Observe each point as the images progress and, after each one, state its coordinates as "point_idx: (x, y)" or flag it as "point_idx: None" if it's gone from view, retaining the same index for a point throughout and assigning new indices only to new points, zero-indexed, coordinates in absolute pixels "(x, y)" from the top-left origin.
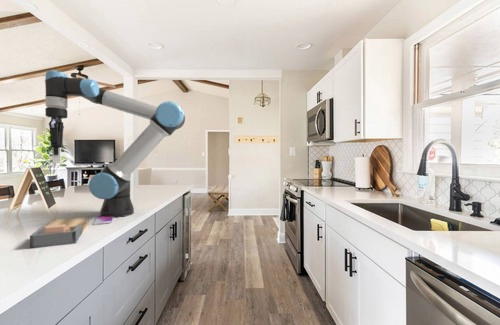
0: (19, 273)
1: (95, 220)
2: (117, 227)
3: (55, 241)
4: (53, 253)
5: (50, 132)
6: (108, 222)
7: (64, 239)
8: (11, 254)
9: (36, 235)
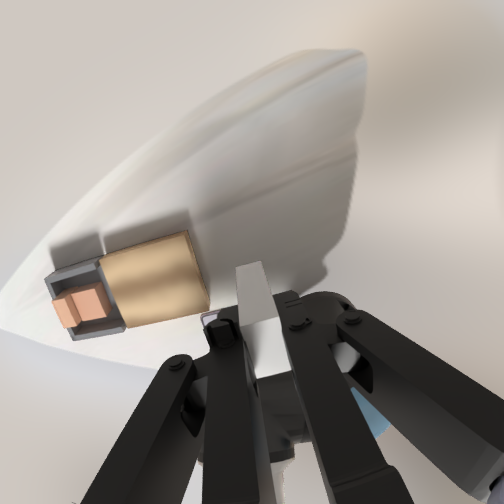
0: (3, 307)
1: None
2: None
3: None
4: (45, 316)
5: (98, 482)
6: None
7: None
8: (35, 258)
9: (47, 287)
